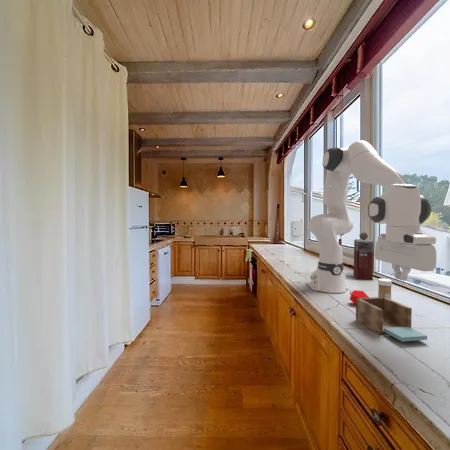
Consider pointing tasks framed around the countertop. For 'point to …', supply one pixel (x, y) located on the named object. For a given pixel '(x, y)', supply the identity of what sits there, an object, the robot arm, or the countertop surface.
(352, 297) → the apple
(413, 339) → the panel
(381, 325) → the crate
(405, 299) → the countertop surface
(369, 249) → the toy vending machine
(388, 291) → the sprinkles bottle
